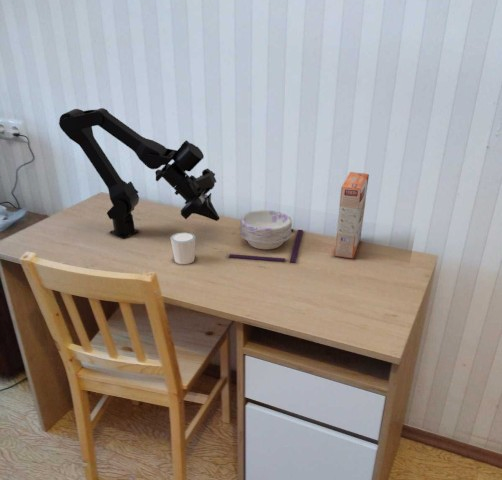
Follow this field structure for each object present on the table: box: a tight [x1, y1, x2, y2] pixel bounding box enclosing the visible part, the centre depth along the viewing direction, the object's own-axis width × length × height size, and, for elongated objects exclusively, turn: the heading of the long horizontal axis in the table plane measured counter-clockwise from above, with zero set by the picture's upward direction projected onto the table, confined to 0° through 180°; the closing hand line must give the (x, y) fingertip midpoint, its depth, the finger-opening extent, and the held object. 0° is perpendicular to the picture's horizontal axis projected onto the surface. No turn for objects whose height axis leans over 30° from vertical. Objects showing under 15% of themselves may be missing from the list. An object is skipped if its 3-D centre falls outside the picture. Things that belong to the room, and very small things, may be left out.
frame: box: [228, 228, 304, 264], centre depth 160 cm, size 19×22×1 cm
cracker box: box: [333, 171, 370, 259], centre depth 152 cm, size 14×6×21 cm, turn 161°
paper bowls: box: [239, 209, 293, 250], centre depth 159 cm, size 15×15×8 cm
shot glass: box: [170, 232, 196, 265], centre depth 150 cm, size 7×7×7 cm
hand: (218, 219), depth 159 cm, fingers closed
